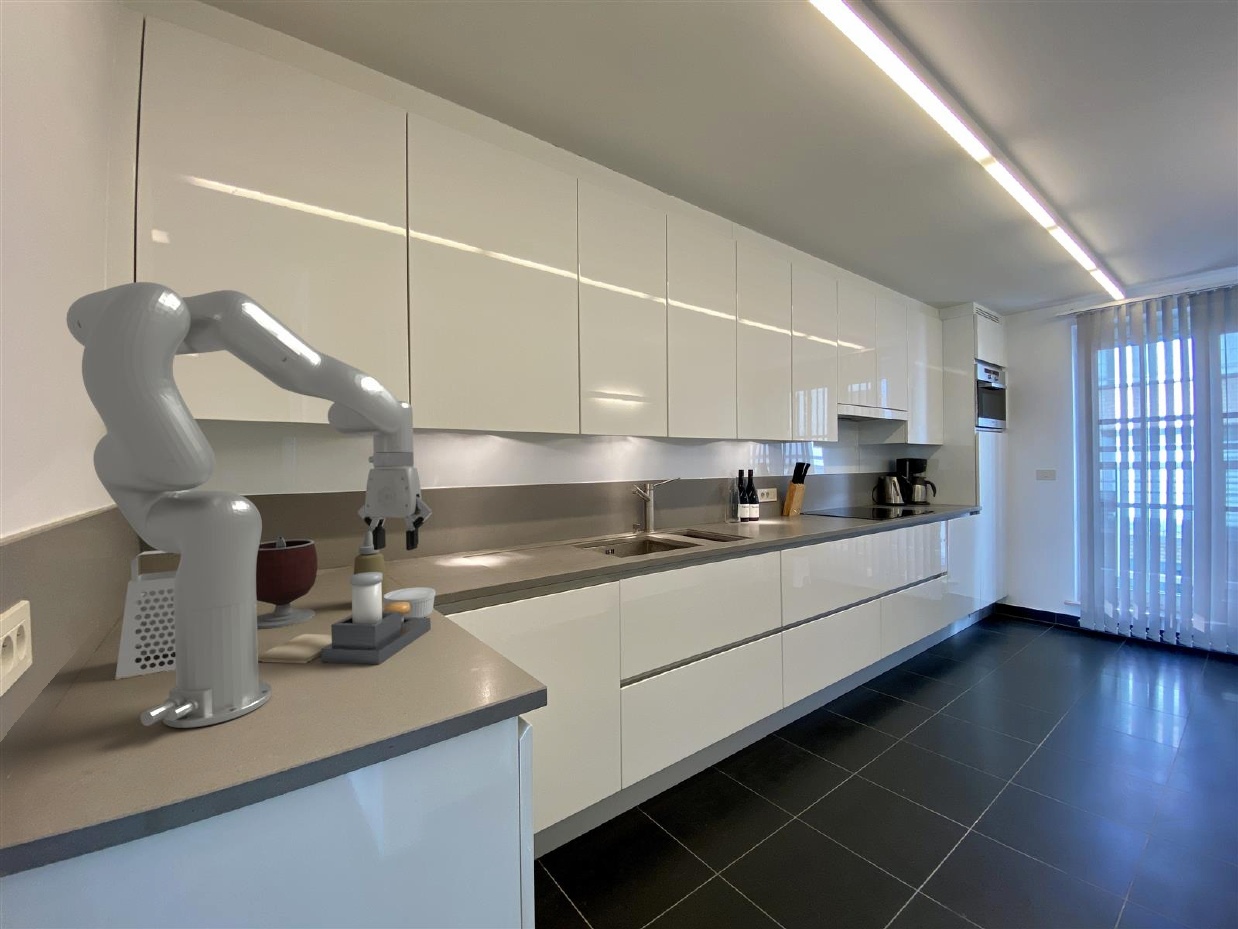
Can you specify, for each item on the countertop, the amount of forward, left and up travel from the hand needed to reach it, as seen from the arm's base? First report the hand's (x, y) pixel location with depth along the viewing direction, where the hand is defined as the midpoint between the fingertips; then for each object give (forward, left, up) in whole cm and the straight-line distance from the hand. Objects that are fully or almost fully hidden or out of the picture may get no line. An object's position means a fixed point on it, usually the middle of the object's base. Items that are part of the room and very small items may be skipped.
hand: (395, 548), depth 106 cm
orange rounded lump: (0, 0, -16) cm, 16 cm away
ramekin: (+12, +4, -18) cm, 22 cm away
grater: (-18, +34, -18) cm, 42 cm away
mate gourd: (+6, +31, -18) cm, 36 cm away
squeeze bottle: (+20, +19, -18) cm, 33 cm away
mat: (-10, +13, -18) cm, 24 cm away
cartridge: (-10, 0, -15) cm, 18 cm away
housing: (-6, 0, -18) cm, 19 cm away
